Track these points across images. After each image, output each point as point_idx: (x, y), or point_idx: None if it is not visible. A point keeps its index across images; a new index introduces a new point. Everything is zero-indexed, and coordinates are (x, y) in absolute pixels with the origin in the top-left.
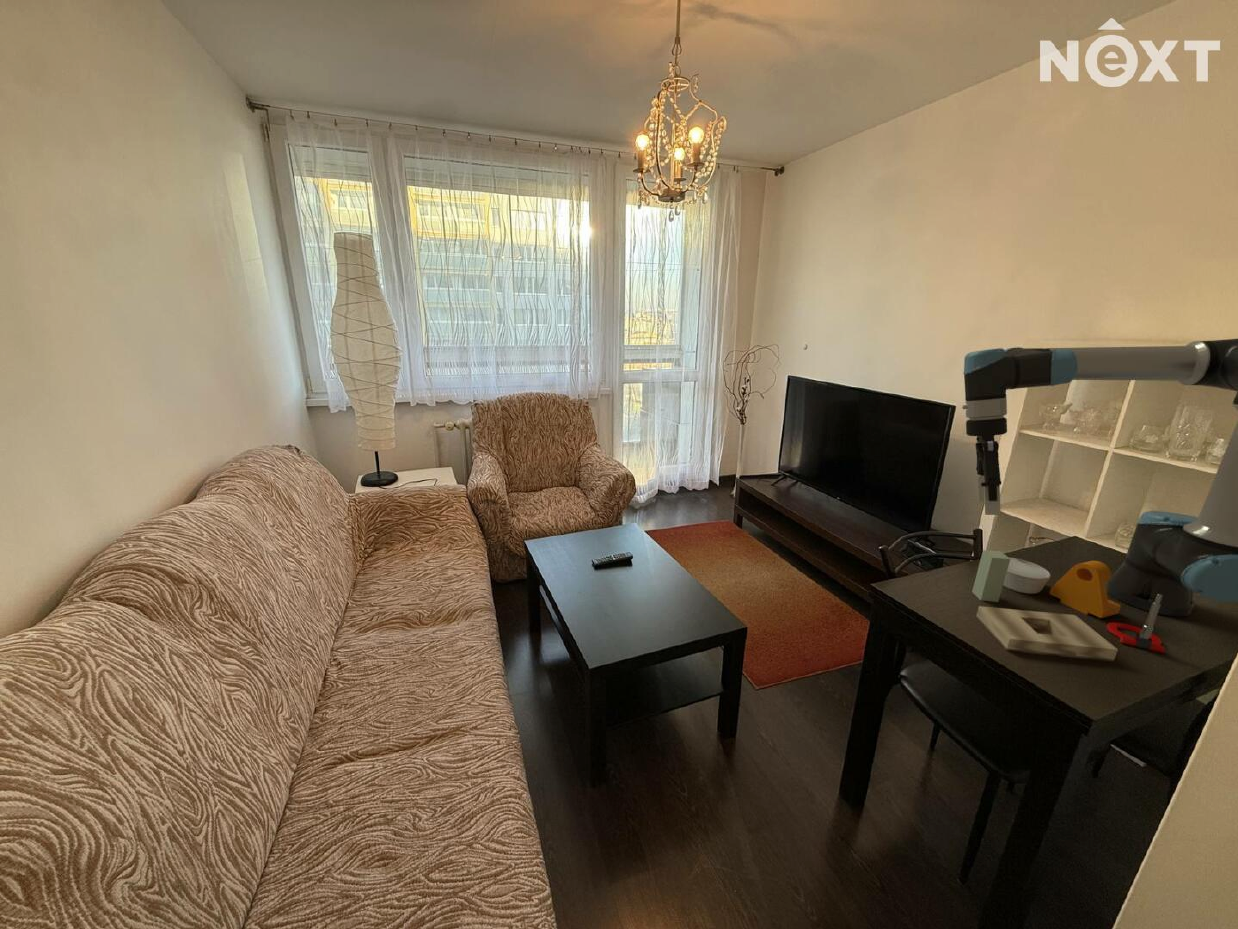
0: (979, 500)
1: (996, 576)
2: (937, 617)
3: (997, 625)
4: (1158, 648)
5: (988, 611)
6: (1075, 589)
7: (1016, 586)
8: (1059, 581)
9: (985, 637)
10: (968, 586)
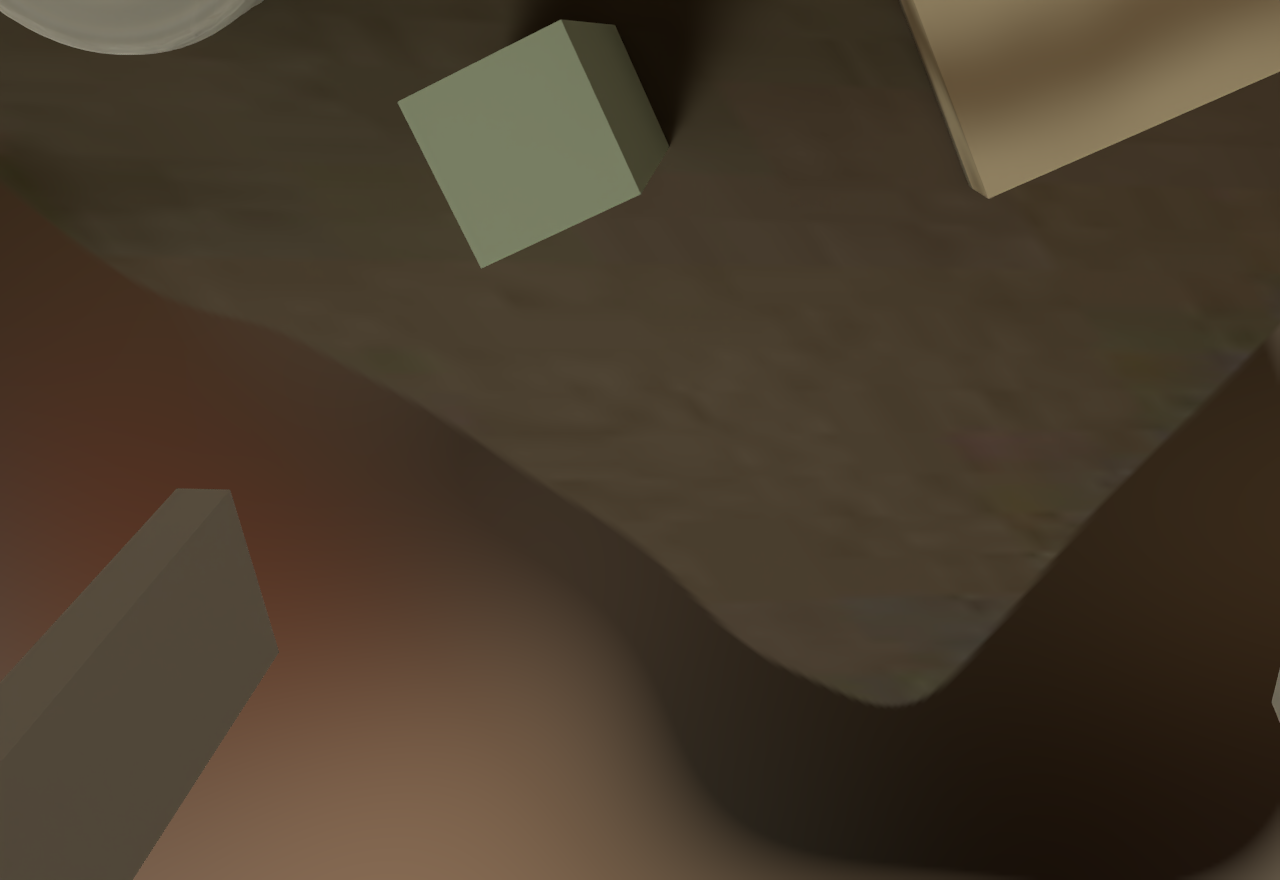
0: (265, 660)
1: (622, 96)
2: (1113, 420)
3: (1245, 84)
4: None
5: (1040, 135)
6: None
7: None
8: None
9: (1238, 135)
10: None
